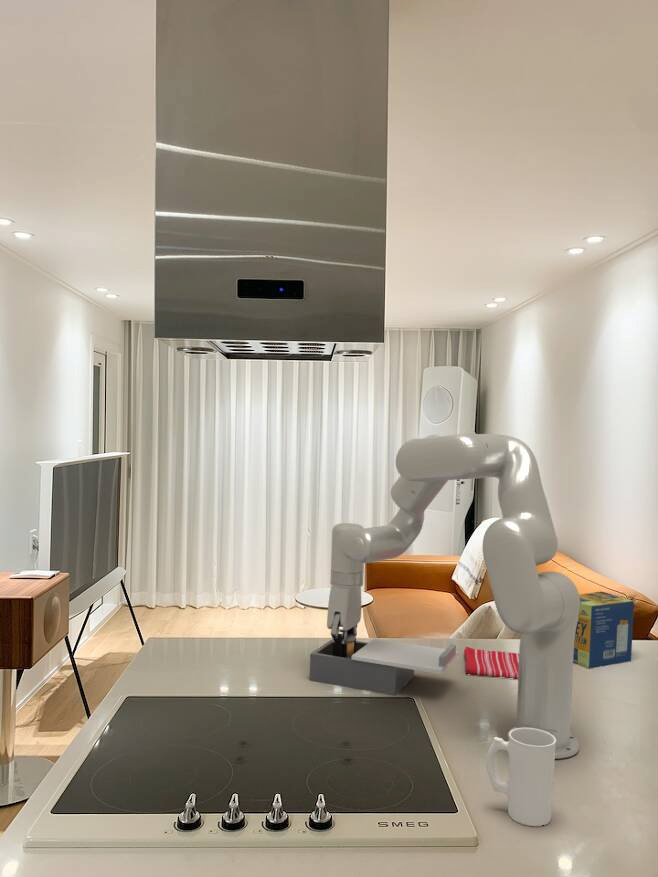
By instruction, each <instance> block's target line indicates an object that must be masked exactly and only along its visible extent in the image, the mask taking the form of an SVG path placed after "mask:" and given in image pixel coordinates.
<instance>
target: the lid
mask: <svg viewBox="0 0 658 877" xmlns="http://www.w3.org/2000/svg"><path fill="white" fill-rule="evenodd" d="M367 643H368V644H367V645H365V646H364V647H363V648H361V649H360V650H359V651H357V652H356V653H355V654H353V655H352V657H351V660H357V661H363V662H370V663H376V664H382V665H388V666H394V667H400V668H406V669H412V670H414V671H418V672H419V671H420V672H426V673H433V674H438V675H442V674H443V673H444V672H445V670H446V669H447V668H448V667H449V666H450V665H451V664H452V662H453V661H454V660H456V658H457V657H458V655H459V650H457V644H452V643H450V645H449V646H448V647H447V648H441V647H440V648H439V647H433V646H428V645H426V646H425V645H421V644H413V643H407V642H402V641H401V642H400V641H393V640H385V639H381V638H380V639H379V638H373V639H372V640H371V641H370V642H367Z"/></svg>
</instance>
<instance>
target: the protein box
mask: <svg viewBox="0 0 658 877" xmlns="http://www.w3.org/2000/svg"><path fill="white" fill-rule="evenodd" d="M579 597H580V610H579V616H578V622H577V626H576V632H575V640H574V655H573V662H574V663H573V664H576V665H579V666H581V667H583V666H584V667H583V668H585V667H586V669H588V668H589V669H592V668H593V669H594V667H595V668H599V667H600V666H601V667H605V666H612V665H617V664H624V663H629V662H631V661H632V650H633V630H634V629H633V627H634V608H635V606H634V605H635V602H634V601H635V600H631V599H628V598H625V597H622V596H618V595H615V594H611V593H608V592H604V591H596V592H590V593H589V592H587V593H579Z"/></svg>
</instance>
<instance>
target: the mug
mask: <svg viewBox="0 0 658 877" xmlns="http://www.w3.org/2000/svg"><path fill="white" fill-rule="evenodd" d="M555 743H556V738H555V737H554V736H553V735H552V734H550V733H548V732H546V731H543V730H540V729H535V728H516V729H513V730H511V731H510V732H509V741H508V740H507V741H505V740H504V738H501V737H498V736H494V738H493V742H492V743H491V745H490V747H489V748H488V751H487V754H486V758H485V759H486V760H485V764H486V770H487V774H488V777H489V780H490V783H491V786H492V789H493V791H494V792H497V793H498V792H499V793H502V794H504V795H506V797H507V798H508V799H507V800H508V801H507V802H508V804H507V810H508V811H507V813H508V815H509V817H510V818H511V819H512V821H515V822H516V823H518V824H520V825H524V826H528V827H543V826H542V825H544V826H547V825H548V824H549V823H550V822H551V820H552V812H553V809H552V808H553V797H554V794H553V793H554V776H555V761H556V760H555ZM501 750H504V751H506V752H507V753H508V781H503V780H500V778H499V777H498V776H497V774H496V770H495V767H494V758H495V755H496V753H498V751H501Z"/></svg>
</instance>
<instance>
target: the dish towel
mask: <svg viewBox="0 0 658 877" xmlns="http://www.w3.org/2000/svg"><path fill="white" fill-rule="evenodd" d="M463 653H464V654H463V655H464V657H465V675H467V674H470V675H469V676H475V675H478V676H477V677H484V676H491V677H490V678H494V677H505V678H513V679H512V680H516V679H518V670H519V652H508V651H498V650H487V649H478V648H473V647H469V646H466V647H465V648H464V650H463ZM505 678H504V679H505Z"/></svg>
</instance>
